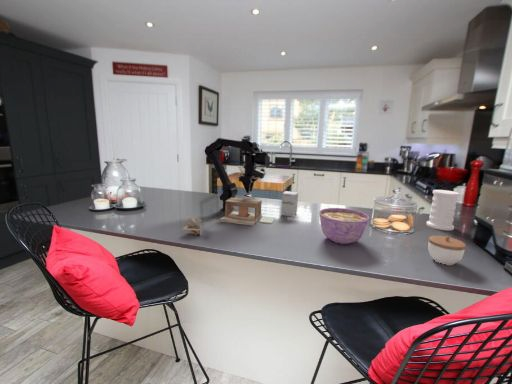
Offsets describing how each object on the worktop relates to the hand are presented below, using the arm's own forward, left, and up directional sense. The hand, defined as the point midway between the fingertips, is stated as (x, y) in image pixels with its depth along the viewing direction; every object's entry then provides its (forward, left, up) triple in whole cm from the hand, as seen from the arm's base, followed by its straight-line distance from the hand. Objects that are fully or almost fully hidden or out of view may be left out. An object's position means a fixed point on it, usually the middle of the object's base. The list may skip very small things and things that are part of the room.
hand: (249, 192), depth 144 cm
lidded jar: (+32, +84, -12) cm, 91 cm away
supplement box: (-6, +22, -12) cm, 26 cm away
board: (+12, 0, -12) cm, 17 cm away
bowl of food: (+24, +49, -12) cm, 56 cm away
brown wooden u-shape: (+10, 0, -10) cm, 14 cm away
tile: (+9, +13, -12) cm, 20 cm away
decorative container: (-13, +98, -12) cm, 99 cm away
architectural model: (+39, -12, -13) cm, 43 cm away
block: (+9, 0, -12) cm, 15 cm away
